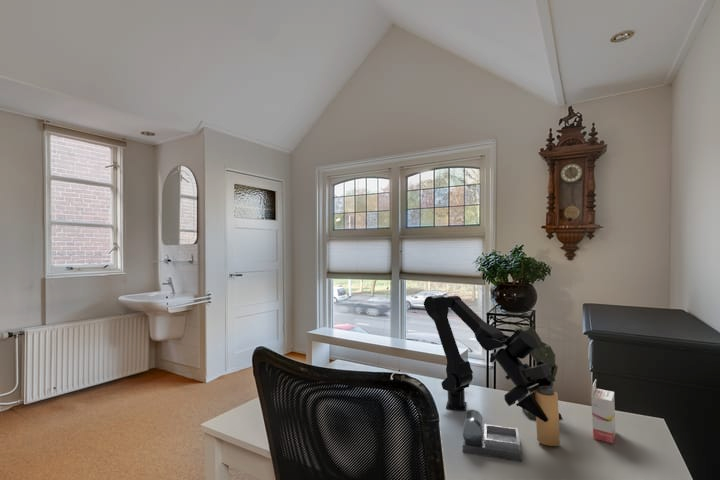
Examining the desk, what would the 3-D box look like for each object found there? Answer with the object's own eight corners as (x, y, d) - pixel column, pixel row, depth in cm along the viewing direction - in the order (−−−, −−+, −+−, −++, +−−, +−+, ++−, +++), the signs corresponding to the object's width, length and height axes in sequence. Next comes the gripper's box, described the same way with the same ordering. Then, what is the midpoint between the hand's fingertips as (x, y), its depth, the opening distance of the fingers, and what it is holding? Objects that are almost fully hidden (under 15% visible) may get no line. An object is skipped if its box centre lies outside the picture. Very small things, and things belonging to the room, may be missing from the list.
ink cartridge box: (614, 444, 97) (611, 390, 97) (592, 439, 100) (590, 386, 100) (616, 432, 103) (614, 381, 104) (596, 427, 106) (593, 377, 107)
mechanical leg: (565, 407, 118) (538, 320, 120) (575, 417, 111) (547, 324, 113) (523, 416, 119) (498, 329, 121) (531, 427, 112) (504, 334, 114)
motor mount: (465, 431, 106) (464, 407, 106) (517, 438, 101) (516, 414, 101) (462, 452, 95) (461, 426, 95) (521, 461, 90) (520, 434, 90)
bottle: (535, 434, 101) (533, 384, 102) (557, 437, 99) (555, 386, 100) (538, 444, 96) (536, 391, 96) (561, 447, 94) (559, 393, 95)
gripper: (512, 358, 96) (556, 413, 87) (547, 346, 107) (589, 395, 98) (488, 379, 102) (526, 433, 93) (523, 366, 113) (561, 413, 104)
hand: (552, 418), depth 97 cm, fingers closed on bottle, 6 cm apart
